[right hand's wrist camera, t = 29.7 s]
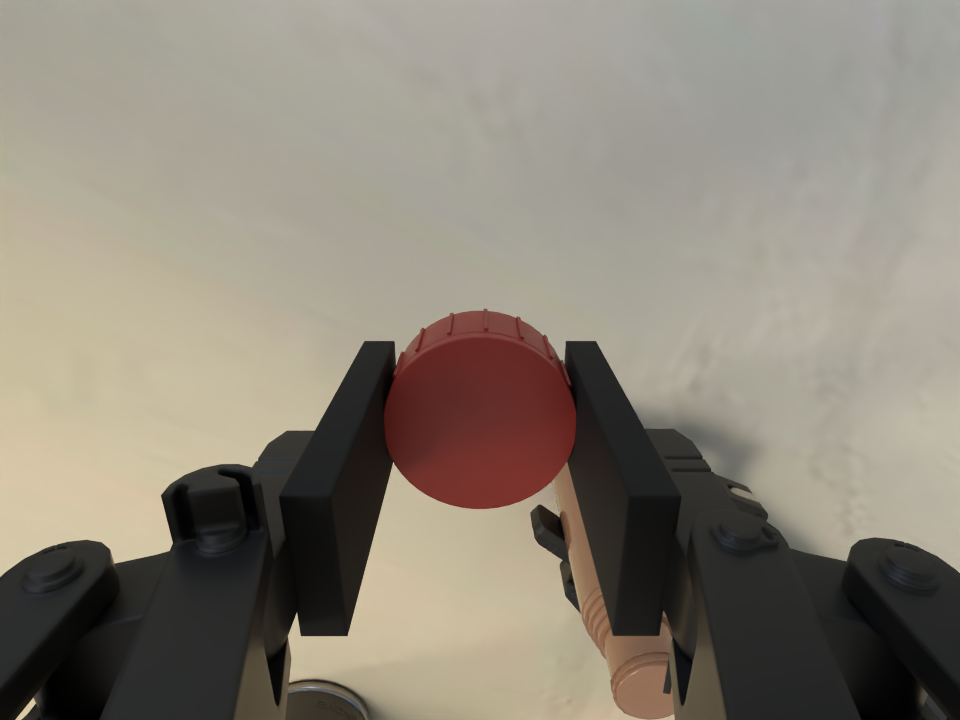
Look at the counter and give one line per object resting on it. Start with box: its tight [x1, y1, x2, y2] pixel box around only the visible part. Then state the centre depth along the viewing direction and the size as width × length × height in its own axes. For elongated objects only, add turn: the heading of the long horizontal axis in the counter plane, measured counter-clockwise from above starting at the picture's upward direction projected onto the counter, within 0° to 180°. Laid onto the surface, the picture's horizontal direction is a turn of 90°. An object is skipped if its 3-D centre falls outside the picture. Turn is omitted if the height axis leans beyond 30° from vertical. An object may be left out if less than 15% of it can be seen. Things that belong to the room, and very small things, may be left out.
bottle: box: [552, 462, 674, 719], centre depth 32 cm, size 4×4×18 cm
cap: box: [384, 309, 577, 509], centre depth 14 cm, size 4×4×2 cm
